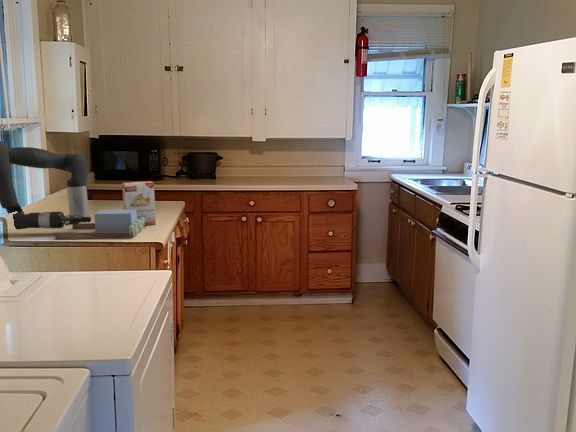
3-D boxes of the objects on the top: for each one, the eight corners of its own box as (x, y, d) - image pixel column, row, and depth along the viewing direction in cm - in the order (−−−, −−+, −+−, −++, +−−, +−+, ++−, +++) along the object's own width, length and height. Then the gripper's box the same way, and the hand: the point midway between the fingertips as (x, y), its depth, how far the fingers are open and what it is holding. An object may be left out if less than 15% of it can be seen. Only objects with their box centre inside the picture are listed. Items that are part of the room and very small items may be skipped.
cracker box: (126, 227, 263) (124, 184, 259) (124, 225, 268) (121, 182, 264) (156, 224, 269) (154, 181, 265) (153, 222, 274) (150, 180, 270)
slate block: (102, 231, 256) (101, 209, 255) (137, 230, 257) (136, 209, 255) (95, 236, 247) (94, 213, 245) (132, 235, 247) (130, 213, 245)
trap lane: (73, 228, 262) (72, 218, 261) (144, 227, 263) (144, 217, 262) (55, 239, 240) (54, 228, 239) (133, 238, 241) (132, 226, 240)
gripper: (44, 214, 243) (85, 214, 243) (56, 209, 256) (94, 208, 256) (46, 231, 244) (86, 230, 244) (57, 225, 257) (95, 224, 257)
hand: (90, 219), depth 250 cm, fingers closed
